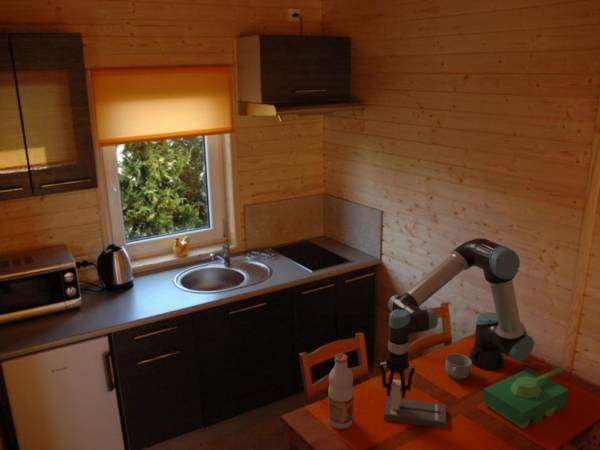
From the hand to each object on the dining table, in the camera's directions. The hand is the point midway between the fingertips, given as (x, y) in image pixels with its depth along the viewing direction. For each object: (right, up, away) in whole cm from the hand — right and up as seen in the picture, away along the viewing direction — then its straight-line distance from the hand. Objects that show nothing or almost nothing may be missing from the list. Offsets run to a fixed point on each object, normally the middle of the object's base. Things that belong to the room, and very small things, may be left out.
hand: (395, 403), depth 209 cm
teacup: (+30, +3, +24) cm, 39 cm away
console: (+7, -4, -1) cm, 9 cm away
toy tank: (+54, -2, +5) cm, 55 cm away
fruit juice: (-22, -6, -4) cm, 23 cm away
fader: (0, -1, 0) cm, 1 cm away
